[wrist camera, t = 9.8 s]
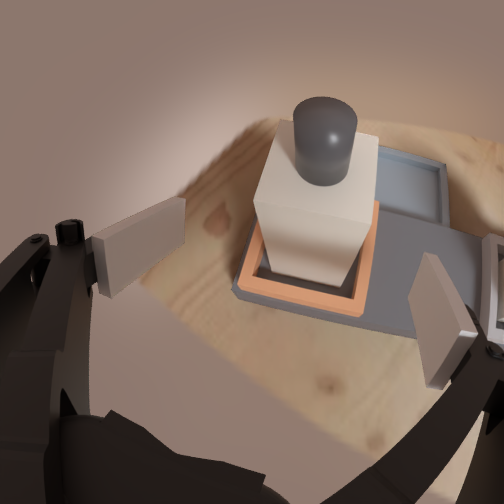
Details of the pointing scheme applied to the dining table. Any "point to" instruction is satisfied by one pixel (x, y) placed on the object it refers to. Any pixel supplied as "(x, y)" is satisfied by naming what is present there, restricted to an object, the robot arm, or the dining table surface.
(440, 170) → the tray
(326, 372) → the dining table surface
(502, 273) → the twin plug
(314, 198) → the bottle
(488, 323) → the grey base
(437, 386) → the robot arm
